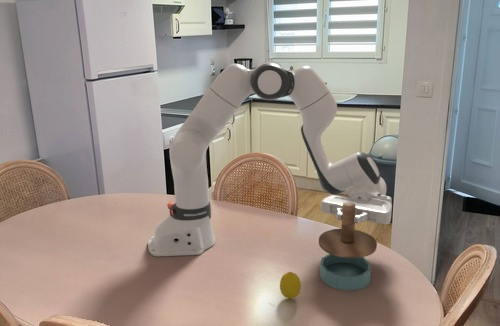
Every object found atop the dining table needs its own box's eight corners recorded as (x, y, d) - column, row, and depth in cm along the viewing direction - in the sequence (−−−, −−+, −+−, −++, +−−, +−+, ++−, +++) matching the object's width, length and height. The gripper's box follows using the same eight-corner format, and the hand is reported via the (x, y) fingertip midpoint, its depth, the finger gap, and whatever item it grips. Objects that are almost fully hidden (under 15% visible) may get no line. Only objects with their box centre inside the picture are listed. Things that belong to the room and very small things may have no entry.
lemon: (299, 306, 114) (300, 278, 112) (278, 303, 115) (278, 276, 113) (301, 294, 119) (302, 267, 117) (281, 291, 120) (281, 265, 118)
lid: (333, 261, 115) (335, 219, 111) (310, 235, 130) (310, 197, 126) (387, 253, 119) (391, 212, 115) (359, 228, 134) (361, 191, 130)
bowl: (333, 293, 119) (333, 280, 118) (313, 268, 132) (313, 256, 131) (379, 285, 122) (380, 273, 121) (355, 261, 135) (356, 249, 134)
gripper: (329, 187, 137) (312, 201, 125) (397, 198, 127) (385, 215, 115) (328, 205, 139) (312, 222, 127) (395, 218, 129) (383, 237, 117)
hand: (347, 219), depth 121 cm, fingers closed on lid, 4 cm apart
